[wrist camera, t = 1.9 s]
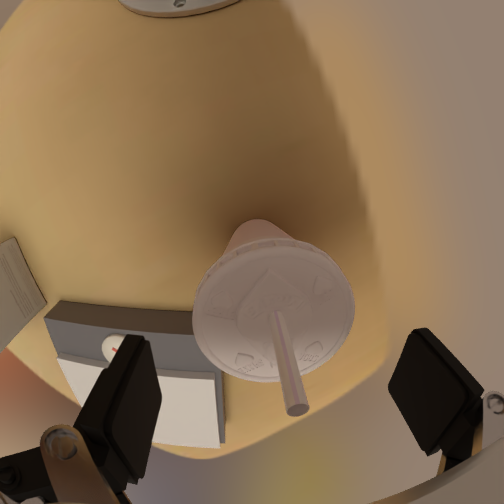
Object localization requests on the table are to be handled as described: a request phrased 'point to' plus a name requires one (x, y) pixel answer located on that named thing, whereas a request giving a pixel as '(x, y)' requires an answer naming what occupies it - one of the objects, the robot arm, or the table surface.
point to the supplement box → (16, 293)
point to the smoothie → (272, 309)
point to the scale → (165, 359)
